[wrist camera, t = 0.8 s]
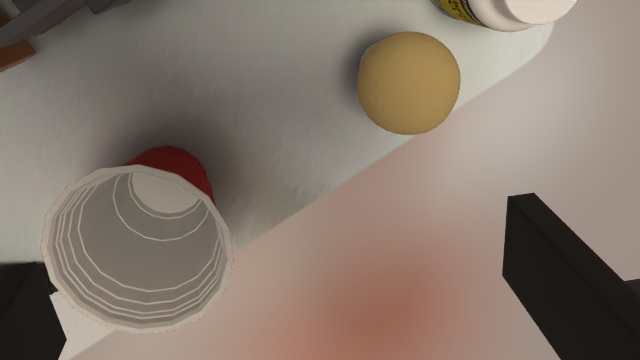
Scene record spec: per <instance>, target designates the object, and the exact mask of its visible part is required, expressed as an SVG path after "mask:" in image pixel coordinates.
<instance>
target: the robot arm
mask: <svg viewBox="0 0 640 360" xmlns="http://www.w3.org/2000/svg"><path fill="white" fill-rule="evenodd" d="M502 272H503V273H502V276H503V277H504V279H505V280H506V281H507V283H508V284H509V286H510V287H511V289H512V290H513V291H514V293H515V294H516V296H517V297H518V299H519V300H520V302H521V303H522V304H523V306H524V307H525V309H526V310H527V312H528V313H529V314H530V316H531V317H532V319H533V320H534V322H535V323H536V324H537V326H538V327H539V329H540V330H541V332H542V333H543V335H544V336H545V337H546V339H547V340H548V342H549V343H550V345H551V346H552V347H553V349H554V350H555V352H556V353H557V355H558V356H559V358H560V359H561V360H640V279H635V280H629V281H623V280H622V279H621V278H620V277H619V276H618V275H617V274H616V273H615V272H614V271H613V270H612V269H611V268H610V267H609V266H608V265H607V264H606V263H605V262H604V261H603V260H602V259H601V258H600V257H599V256H598V255H597V254H596V253H595V252H594V251H593V250H592V249H591V248H590V247H588V245H586V244H585V243H584V242H583V241H582V240H581V239H580V238H579V237H578V236H577V235H576V234H575V233H574V232H573V231H572V230H571V229H570V228H569V227H568V226H567V225H566V224H565V223H564V222H563V221H562V220H561V219H560V218H559V217H558V216H557V215H556V214H555V213H554V212H553V211H552V210H551V209H550V208H549V207H548V206H547V205H545V203H544V202H543V201H542V200H541V199H540V198H539V197H538V196H537V195H535V193H530V194H522V195H515V196H508V201H507V215H506V229H505V243H504V258H503V271H502ZM66 340H67V339H66V336H65V334H64V331H63V329H62V326H61V324H60V321H59V319H58V316H57V314H56V311H55V309H54V306H53V304H52V301H51V299H50V296H49V294H48V291H47V289H46V286H45V284H44V281H43V279H42V276H41V274H40V271H39V269H38V266H37V264H36V262H32V263H25V264H18V265H11V266H6V268H5V269H4V271H3V272H2V274H1V275H0V360H58V358H59V356H60V354H61V352H62V349H63V347H64V345H65V342H66Z"/></svg>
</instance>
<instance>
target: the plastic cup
mask: <svg viewBox="0 0 640 360" xmlns="http://www.w3.org/2000/svg"><path fill="white" fill-rule="evenodd" d="M41 251H42V255H43V258H44V261H45V264H46V268H47V271H48V274H49V278H50V281H51V282H52V283H53V284H54V286H55V287H56V288H57V289H58V290H59V292H60V293H61V294H62V295H63V297H64V298H65V299H66V300H67V301H68V303H69V304H70V305H71V306H72V307H73V308H74V309H76V310H77V311H79V312H81V313H82V314H84V315H86V316H87V317H89V318H91V319H92V320H94V321H96V322H98V323H99V324H101V325H103V326H105V327H109V328H114V329H119V330H123V331H128V332H133V333H137V334H144V333H153V332H161V331H170V330H176V329H177V328H179V327H181V326H183V325H185V324H187V323H189V322H191V321H193V320H195V319H197V318H199V317H201V316H203V315H205V314H206V313H207V311H208V310H209V309H210V308H211V307H212V305H213V304H214V303H215V302H216V301H217V300H218V299H219V298H220V296H221V295H222V294H223V293H224V292H225V290H226V287H227V283H228V280H229V276H230V273H231V269H232V266H233V262H234V257H233V251H232V245H231V239H230V233H229V227H228V225H227V223H226V222H225V220H224V219H223V217H222V216H221V214H220V213H219V211H218V210H217V208H216V206H215V202H214V198H213V194H212V190H211V186H210V183H209V181H208V180H207V176H206V172H205V170H204V169H203V167H202V166H201V164H200V163H199V161H198V160H197V159H196V158H195V157H193V156H192V155H190V154H189V153H188V152H186V151H185V150H182V149H178V148H174V147H170V146H167V147H159V148H151V149H149V150H148V151H146V152H144V153H142V154H140V155H139V156H137V157H136V158H134V159H133V160H131V161H129V162H127V163H125V164H124V165H122V166H120V167H111V168H102V169H97V170H96V171H94V172H92V173H90V174H88V175H87V176H85V177H83V178H81V179H79V180H77V181H76V182H74V183H72V184H70V185H68V186H66V187H65V189H64V190H63V192H62V193H61V194H60V196H59V197H58V199H57V200H56V201H55V203H54V204H53V205H52V207H51V208H50V210H49V211H48V212H47V214H46V216H45V223H44V229H43V235H42V242H41Z"/></svg>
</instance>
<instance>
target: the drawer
mask: <svg viewBox="0 0 640 360" xmlns="http://www.w3.org/2000/svg"><path fill="white" fill-rule="evenodd" d="M12 2H13V3H14V4H15V5H16V6H17V8H18V9H19V10H20V11H21V13H20V14H19V15H18V16H16V17H15V18H13V19H12V20H9V19H8V18H7V17H6V15H5V14H4V13H3V12H2V11H1V9H0V72H2V71H5V70H7V69H9V68H11V67H13V66H16V65H18V64H20V63H22V62H24V61H25V60H27V59H28V58H30V57H31V56H33V55H34V54H36V51H35V50H34V49H33V48H32V47H31V45H30V44H29V43H28V42H27V41H26V39H29V38H32V37H34V36H37V35H40V34H43V33H45V32H46V31H48V30H49V29H51V28H52V27H54V26H55V25H57V24H58V23H60V22H61V21H63V20H64V19H65V18H67V17H68V16H70V15H71V14H73V13H74V12H76V11H77V10H79V9H80V8H82V7H83V6H84V5H86V2H85V1H84V0H12Z"/></svg>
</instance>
